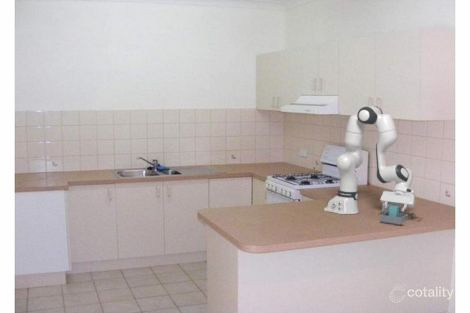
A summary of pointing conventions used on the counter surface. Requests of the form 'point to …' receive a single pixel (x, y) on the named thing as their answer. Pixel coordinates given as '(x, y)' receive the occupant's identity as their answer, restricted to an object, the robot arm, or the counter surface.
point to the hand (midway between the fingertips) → (394, 210)
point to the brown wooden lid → (414, 218)
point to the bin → (393, 219)
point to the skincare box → (385, 206)
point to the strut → (394, 211)
